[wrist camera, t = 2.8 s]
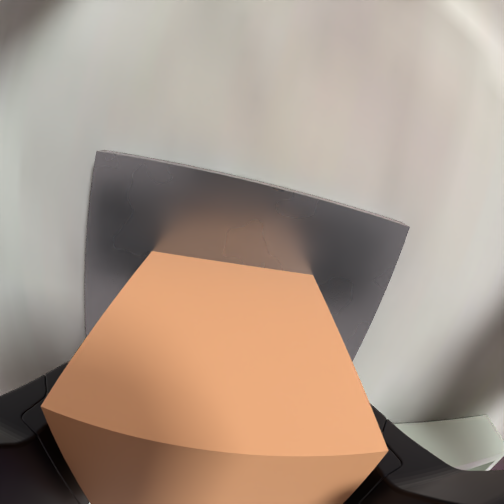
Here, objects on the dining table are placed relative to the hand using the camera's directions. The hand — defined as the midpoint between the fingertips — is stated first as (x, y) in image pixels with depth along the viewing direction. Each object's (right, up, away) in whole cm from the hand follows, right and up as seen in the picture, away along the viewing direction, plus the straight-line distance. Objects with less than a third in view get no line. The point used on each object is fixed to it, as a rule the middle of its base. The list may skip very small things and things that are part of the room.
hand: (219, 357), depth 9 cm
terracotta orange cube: (0, 0, +1) cm, 1 cm away
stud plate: (0, +1, +2) cm, 2 cm away
